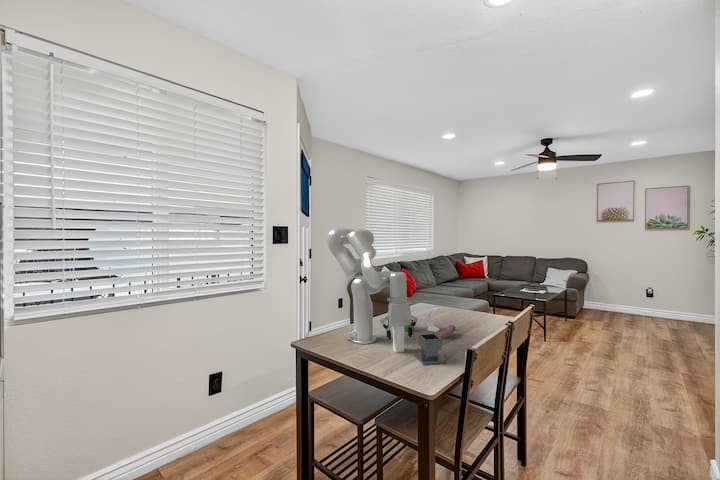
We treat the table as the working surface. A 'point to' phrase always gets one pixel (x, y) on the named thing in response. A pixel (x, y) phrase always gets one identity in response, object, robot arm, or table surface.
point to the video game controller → (448, 331)
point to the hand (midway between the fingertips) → (399, 337)
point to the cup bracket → (430, 349)
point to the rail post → (398, 339)
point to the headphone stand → (428, 321)
